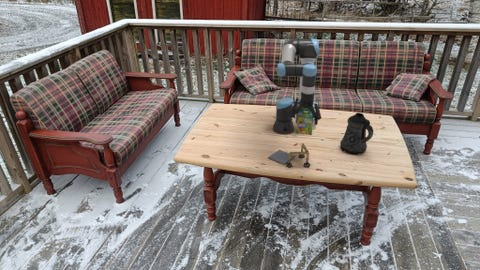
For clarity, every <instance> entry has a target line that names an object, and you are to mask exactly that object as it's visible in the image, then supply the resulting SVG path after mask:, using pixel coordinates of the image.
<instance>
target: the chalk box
mask: <svg viewBox="0 0 480 270" xmlns="http://www.w3.org/2000/svg"><path fill="white" fill-rule="evenodd" d="M305 110H308V111H305ZM313 120H314V117H313V115H312V113H311V111H310V110H309V108H303V109H302V111H299V114H298V122H297V124H296V134H298V135H307V136H312V134H313V130H312V129H313Z"/></svg>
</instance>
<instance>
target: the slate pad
mask: <svg viewBox="0 0 480 270" xmlns="http://www.w3.org/2000/svg"><path fill="white" fill-rule="evenodd" d="M289 153H290V152H287V151H284V150H281V149H278V150H277V151H275V152H273V153H272V154H270V155H269V156H268V157H267V159H268V160H271V161H273V162H276V163H278V164H280V165H282V166H283V165H285V166H286V164H287V163H288V160H289ZM295 157H296V155H291V160H293V159H294V158H295Z"/></svg>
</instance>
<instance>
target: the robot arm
mask: <svg viewBox="0 0 480 270" xmlns="http://www.w3.org/2000/svg"><path fill="white" fill-rule="evenodd" d="M319 46H320V45H319V41H318V39H316V38H298V37H297V38H296V37H295V38H291V39H289V40H287V41H285V43H284V44H283V45H282V47H281V51H280V52H281V55H282V56H281V62H280V63H278V64H277V66H276V72H277V73H276V74H277V76H278V77H297V78H299V90H298V91H299V93H298V97H297V98H295V100H294V99H293V98H292V97H283V98H280V99H278V100H277V101H276V106H275V108H276V110H275V111H276V112H275V121H274V123H273V126H272V130H273V132H274V133H276V134H278V135H289V134H292V133H293V132H294V130H295V126H294V125H296V126H297V122H298V114H299V111H302V109H303V108H309V110H310V111H311V113H312V115H313V117H314V119H313V127H312V131H315V130H316V129H317V125H318V122H319V121H320V120H321V119H322V115H321V111H320V107H319V105H320V103H319V102H315V92H316V79H317V70H318V68H317V66H316V65H315V61H316V60H317V57H319V56H320V47H319ZM295 57H299V58H298V60H299V61H300V63H295ZM305 111H308V110H305ZM293 119H294V122H293Z"/></svg>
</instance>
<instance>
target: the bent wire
mask: <svg viewBox="0 0 480 270" xmlns="http://www.w3.org/2000/svg"><path fill="white" fill-rule="evenodd" d="M300 148H301V149H300V151H289V152H288V153H289V160H288V162H287V163H286V164H285V167H286V168H287V167H288V168H287V169H291V167H292V168H293V163H291V155H295V156H296V155H298V156H297V157H298V158H300V159H305V162H303V165H302V166H303V167H304V168H306V167H308V168H311V164H310V163H309V157H310V151H309V149H308V148H307V147H306V145H305V144H304V143H301V146H300ZM305 157H306V158H305Z"/></svg>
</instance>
